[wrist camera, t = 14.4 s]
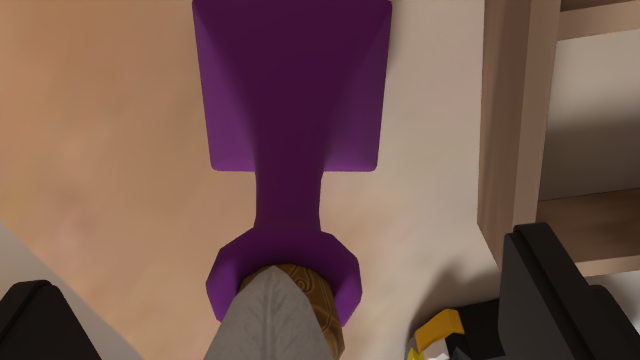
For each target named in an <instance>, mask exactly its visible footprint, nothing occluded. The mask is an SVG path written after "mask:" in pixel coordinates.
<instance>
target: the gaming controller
mask: <svg viewBox="0 0 640 360" xmlns="http://www.w3.org/2000/svg"><path fill="white" fill-rule="evenodd" d="M499 302H500V300H498V301H493V302H488V303H483V304H479V305H474V306H469V307H465V308H460V309H457V310H452V309H445V310H443V311H442V312H440V313H438V314H437V315H436V316H435V317H433V318H432V319H431V320H430V321H429V322H427V323H426V324H424V325H423V326H421V327H420V328H418V329H417V330H416V331H415V333H414V336H413V337H412V338H411V339H410V341H409V343H408V345H407V348H406V353H405V358H404V360H508V359H507V356H506V354H505V351H504V349H503V346H502V344H501V341H500V337H499V332H498V316H499Z"/></svg>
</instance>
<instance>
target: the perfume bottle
mask: <svg viewBox="0 0 640 360" xmlns="http://www.w3.org/2000/svg"><path fill="white" fill-rule="evenodd" d="M192 10H193V18H194V26H195V35H196V43H197V52H198V60H199V68H200V77H201V85H202V94H203V102H204V110H205V119H206V127H207V136H208V144H209V152H210V161H211V166H212V168H213V169H214V170H217V171H247V172H255V175H256V218H255V222H254V227H253V228H251V229H250V230H248V231H247V232H245V233H244V234H242V235H241V236H239V237H238V238H236V239H235V240H233V241H231V242H230V243H228V244H227V245H225V246H224V247H222V248H221V249H220V250H219V253H218V255H217V257H216V260H215V262H214V264H213V267H212V269H211V272H210V274H209V276H208V279H207V281H206V290H207V294H208V297H209V300H210V303H211V305H212V308H213V311H214V314H215V316H216V319H217V320H218V321H220V322H221V325H220V327H219V329H218V331H217V333H216V335H215V337H214V339H213V341H212V343H211V345H210V347H209V349H208V351H207V353H206V355H205V357H204V359H203V360H339V359H340V357H341V355H342V353H343V351H344V349H345V345H344V339H343V334H342V328H341V327H343V326H345V324H346V323H347V321H348V320H349V318H350V316H351V315H352V313H353V312H354V310H355V309H356V307H357V306H358V304H359V303H360V300H361V296H362V286H361V277H360V269H359V263H358V260H357V258H356V257H355V256H354V255H353V254H352V253H351V252H350V251H349V250H348V249H347V248H346V247H345V246H344V245H343V244H342V243H340V242H339V241H338V240H337V239H336V238H335V237H334V236H333V235H332V234H329V233H325V232H322V231H321V227H320V219H319V203H320V188H321V179H322V175H323V172H324V171H346V172H371V171H373V170H375V168H376V167H377V161H378V150H379V140H380V130H381V119H382V109H383V99H384V88H385V78H386V68H387V57H388V47H389V36H390V26H391V16H392V4H391V1H389V0H193V1H192Z"/></svg>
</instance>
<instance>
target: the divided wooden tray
mask: <svg viewBox="0 0 640 360" xmlns="http://www.w3.org/2000/svg"><path fill="white" fill-rule="evenodd" d="M639 28H640V0H485V12H484V41H483V69H482V98H481V127H480V156H479V185H478V214H477V224H478V226H479V228H480V230H481V232H482V234H483V236H484V238H485V241H486V243H487V245H488V247H489V249H490V251H491V253H492V255H493V257H494V259H495V261H496V263H497V266H498V268H499V270H500V272H501V273H502V258H503V244H504V236H505V234H506V233H512V232H513V228H514V226H515V225H519V224H528V223H536V222H546V223H548V225H549V226H550V227H551V229H552V230H553V232H554V233H555V235H556V236H557V238H558V239H559V241H560V242H561V244H562V245H563V247H564V248H565V250H566V251H567V253H568V254H569V256H570V257H571V259H572V260H573V262H574V263H575V265H576V266H577V268H578V269H579V271H580V272H581V274H582V275H583V277H587V276H595V275H603V274H612V273H620V272H628V271H637V270H640V188H639V189H631V190H623V191H616V192H608V193H600V194H592V195H585V196H577V197H569V198H562V199H554V200H546V201H538V194H539V185H540V177H541V168H542V160H543V151H544V142H545V134H546V125H547V117H548V108H549V100H550V91H551V82H552V74H553V65H554V57H555V48H556V41H559V40H565V39H572V38H579V37H585V36H592V35H599V34H605V33H612V32H619V31H625V30H632V29H639Z"/></svg>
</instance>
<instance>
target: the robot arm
mask: <svg viewBox="0 0 640 360" xmlns="http://www.w3.org/2000/svg"><path fill="white" fill-rule="evenodd" d="M498 332H499V337H500V341H501V344H502V346H503V349H504V351H505V354H506V356H507V359H508V360H640V335H639V333H638V332H637V331H636V329H635V328H634V326H633V325H632V323H631V322H630V321H629V319H628V318H627V316H626V315H625V313H624V312H623V311H622V309H621V308H620V306H619V305H618V303H617V302H616V301H615V299H614V298H613V296H612V295H611V294H610V293H609V291H608V290H607V289H606V288H605V287H603V286H601V285H588V283H587V282H586V280H585V279H584V277H583V275H582V274H581V272H580V271H579V269H578V268H577V266H576V265H575V263H574V262H573V260H572V259H571V257H570V256H569V254H568V253H567V251H566V250H565V248H564V247H563V245H562V244H561V242H560V241H559V239H558V238H557V236H556V235H555V233H554V232H553V230H552V229H551V227H550V226H549V225H548V223H546V222H536V223H528V224H519V225H515V226H514V228H513V232H512V233H506V234H505V236H504V244H503V258H502V273H501V287H500V302H499V316H498ZM0 360H102V359H101V358H100V356H99V354H98V353H97V351H96V349H95V348H94V346H93V344H92V343H91V341H90V339H89V338H88V336H87V334H86V333H85V331H84V329H83V328H82V326H81V324H80V323H79V321H78V319H77V318H76V316H75V315H74V313H73V311H72V309H71V308H70V306H69V304H68V303H67V301H66V299H65V298H64V296H63V294H62V293H61V291H60V289H59V288H58V287H57V286H55V285H52V284H51V283H50V282H49V281H47V280H35V281H26V282H18V283H16V284H14V285H13V286H12V287H11V288H10V289H9V290H8V292H7V293H6V294H5V296H4V297H3V298H2V300H1V301H0Z"/></svg>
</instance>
